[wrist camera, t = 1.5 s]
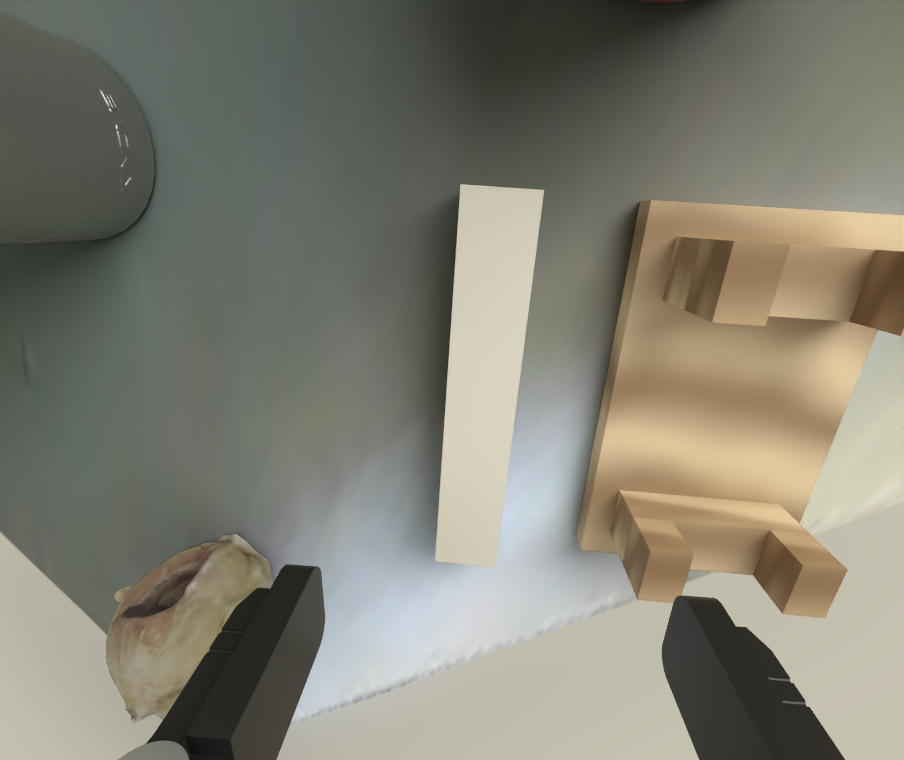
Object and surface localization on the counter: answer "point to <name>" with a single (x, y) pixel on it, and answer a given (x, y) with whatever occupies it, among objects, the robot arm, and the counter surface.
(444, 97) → the counter surface
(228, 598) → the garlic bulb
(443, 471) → the cream white rectangular bar
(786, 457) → the wooden plate with pegs
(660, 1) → the canister
